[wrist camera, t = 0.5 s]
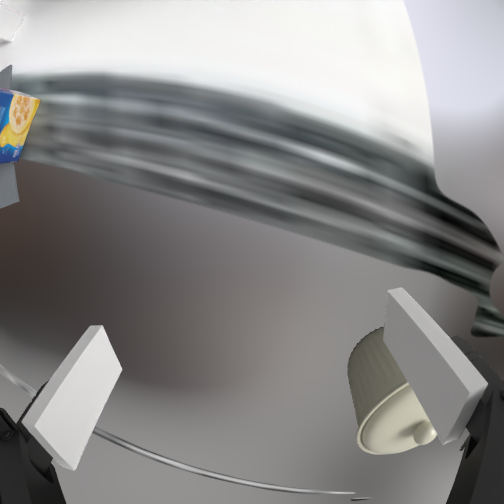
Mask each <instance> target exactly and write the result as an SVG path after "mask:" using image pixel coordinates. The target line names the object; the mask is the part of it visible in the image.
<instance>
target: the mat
mask: <svg viewBox="0 0 504 504" xmlns="http://www.w3.org/2000/svg"><path fill="white" fill-rule="evenodd" d="M11 73H12V65H9V66H8V67H6V68H5V69H4V70H2V71H1V72H0V87H1V88H5V89H10V90H11ZM16 202H19V195H18V189H17V182H16V175H15V168H14V162H10V163H2V164H0V208H3V207H6V206H9V205H11V204H14V203H16Z"/></svg>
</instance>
